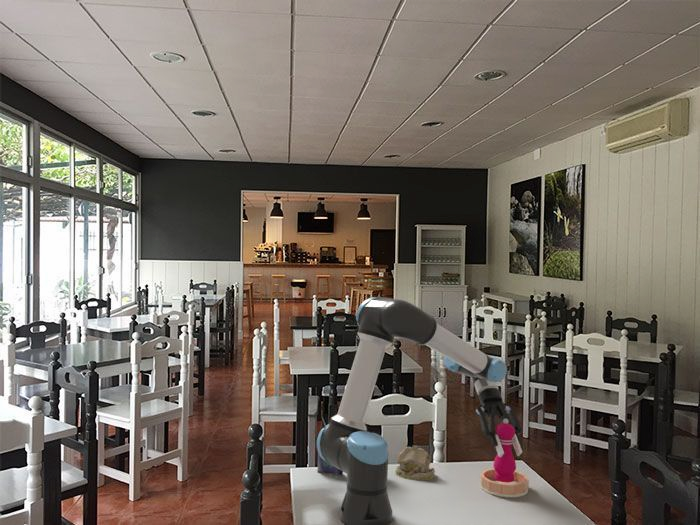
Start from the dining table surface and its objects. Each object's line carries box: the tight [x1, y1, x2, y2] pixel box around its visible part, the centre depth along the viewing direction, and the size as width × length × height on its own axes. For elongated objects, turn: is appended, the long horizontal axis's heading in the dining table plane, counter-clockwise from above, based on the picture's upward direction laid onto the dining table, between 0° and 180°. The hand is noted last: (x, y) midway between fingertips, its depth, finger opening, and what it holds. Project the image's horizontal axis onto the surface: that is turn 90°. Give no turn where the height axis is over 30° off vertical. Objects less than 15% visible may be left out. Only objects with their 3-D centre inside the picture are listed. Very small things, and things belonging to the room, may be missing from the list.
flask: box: [316, 452, 344, 476], centre depth 209 cm, size 9×3×11 cm, turn 72°
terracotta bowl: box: [479, 467, 530, 499], centre depth 198 cm, size 15×15×4 cm
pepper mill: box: [492, 419, 517, 483], centre depth 198 cm, size 7×7×20 cm
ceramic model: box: [395, 444, 436, 481], centre depth 210 cm, size 14×11×10 cm
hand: (510, 454), depth 195 cm, fingers closed on pepper mill, 6 cm apart
